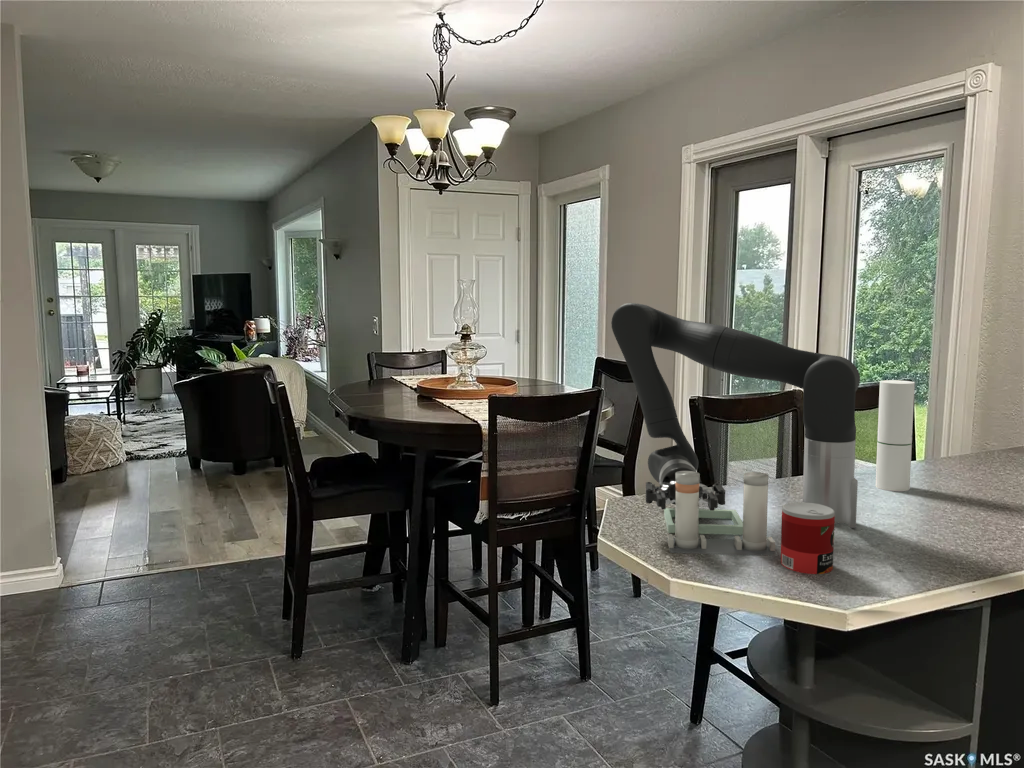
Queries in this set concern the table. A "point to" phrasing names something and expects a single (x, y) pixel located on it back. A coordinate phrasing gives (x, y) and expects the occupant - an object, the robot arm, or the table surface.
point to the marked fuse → (687, 509)
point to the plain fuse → (755, 511)
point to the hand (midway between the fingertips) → (688, 504)
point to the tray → (710, 528)
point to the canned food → (807, 537)
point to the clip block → (722, 547)
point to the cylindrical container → (894, 435)
